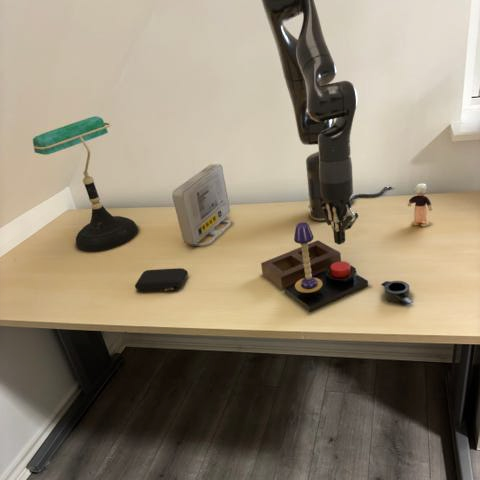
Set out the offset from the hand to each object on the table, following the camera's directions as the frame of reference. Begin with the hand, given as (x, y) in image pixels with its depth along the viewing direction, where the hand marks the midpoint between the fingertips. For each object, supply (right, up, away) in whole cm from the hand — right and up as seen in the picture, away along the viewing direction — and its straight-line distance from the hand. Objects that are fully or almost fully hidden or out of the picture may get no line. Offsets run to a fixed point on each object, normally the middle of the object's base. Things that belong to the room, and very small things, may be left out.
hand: (339, 242), depth 126 cm
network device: (-35, +10, +46) cm, 59 cm away
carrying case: (-48, -9, +22) cm, 54 cm away
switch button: (+1, -7, +5) cm, 9 cm away
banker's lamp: (-74, +11, +58) cm, 95 cm away
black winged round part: (+14, -14, -3) cm, 20 cm away
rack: (-8, -5, +15) cm, 18 cm away
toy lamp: (-8, -11, +2) cm, 13 cm away
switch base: (-3, -12, +5) cm, 13 cm away
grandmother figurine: (+30, +10, +27) cm, 41 cm away
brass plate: (-8, -11, +2) cm, 13 cm away
